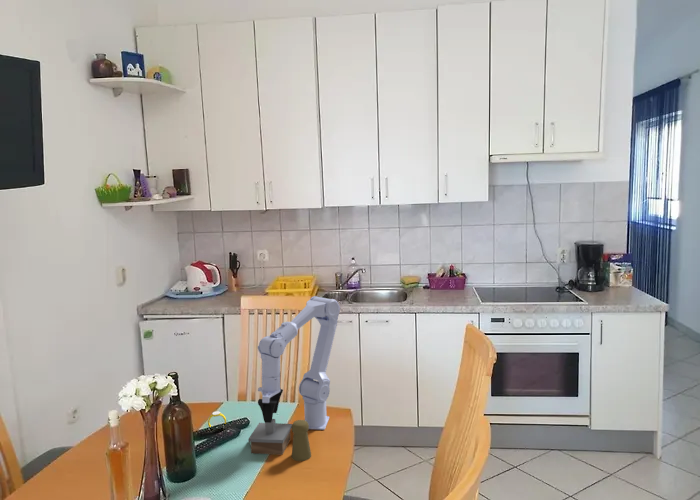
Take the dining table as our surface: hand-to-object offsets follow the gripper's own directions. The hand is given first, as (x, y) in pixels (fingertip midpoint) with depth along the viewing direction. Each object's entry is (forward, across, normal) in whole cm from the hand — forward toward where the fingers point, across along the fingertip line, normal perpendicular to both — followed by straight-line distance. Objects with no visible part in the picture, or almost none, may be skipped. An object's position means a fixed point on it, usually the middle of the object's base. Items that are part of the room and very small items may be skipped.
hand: (270, 417), depth 166 cm
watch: (+10, -12, -21) cm, 27 cm away
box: (+10, -1, 0) cm, 10 cm away
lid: (+6, -1, 0) cm, 6 cm away
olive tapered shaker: (+10, +5, +11) cm, 15 cm away
